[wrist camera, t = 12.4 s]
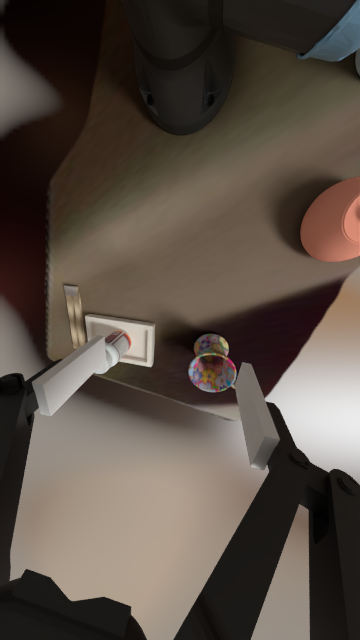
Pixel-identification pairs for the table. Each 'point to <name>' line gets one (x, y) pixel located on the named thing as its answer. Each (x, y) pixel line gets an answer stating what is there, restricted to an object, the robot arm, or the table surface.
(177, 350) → the table surface
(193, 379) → the mug
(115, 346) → the pill bottle
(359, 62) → the mug
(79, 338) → the tongs
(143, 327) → the tray
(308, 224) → the pink teapot
